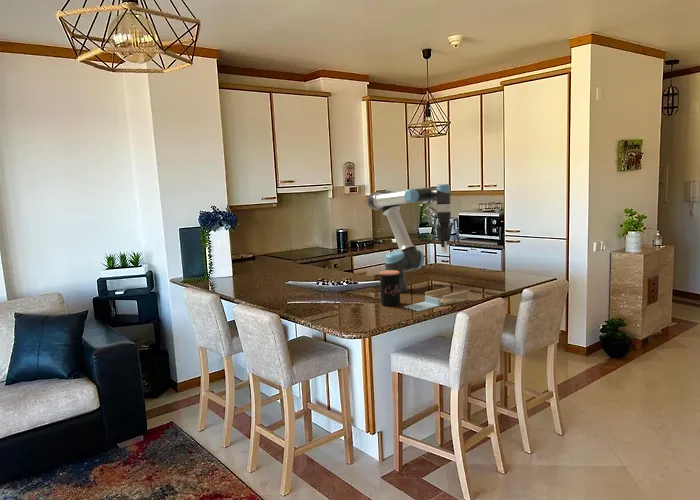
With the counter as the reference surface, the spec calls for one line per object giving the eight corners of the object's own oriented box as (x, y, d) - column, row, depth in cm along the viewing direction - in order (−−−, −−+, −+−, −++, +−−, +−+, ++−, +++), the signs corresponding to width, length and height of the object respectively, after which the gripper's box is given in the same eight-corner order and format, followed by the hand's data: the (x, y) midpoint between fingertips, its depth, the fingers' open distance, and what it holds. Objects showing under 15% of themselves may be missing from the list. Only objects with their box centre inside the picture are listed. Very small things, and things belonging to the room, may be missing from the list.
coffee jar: (384, 307, 286) (383, 274, 283) (378, 303, 296) (377, 271, 293) (403, 305, 289) (402, 272, 286) (396, 301, 299) (395, 269, 296)
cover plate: (403, 308, 285) (403, 301, 284) (426, 302, 294) (426, 295, 294) (418, 312, 275) (418, 304, 275) (441, 306, 285) (441, 299, 285)
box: (425, 301, 296) (425, 292, 295) (448, 295, 306) (448, 287, 305) (444, 305, 284) (443, 296, 284) (467, 299, 295) (467, 291, 294)
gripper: (440, 212, 297) (441, 254, 301) (456, 210, 305) (457, 251, 308) (430, 212, 303) (431, 253, 307) (447, 210, 311) (447, 250, 314)
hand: (444, 252), depth 307 cm, fingers closed
